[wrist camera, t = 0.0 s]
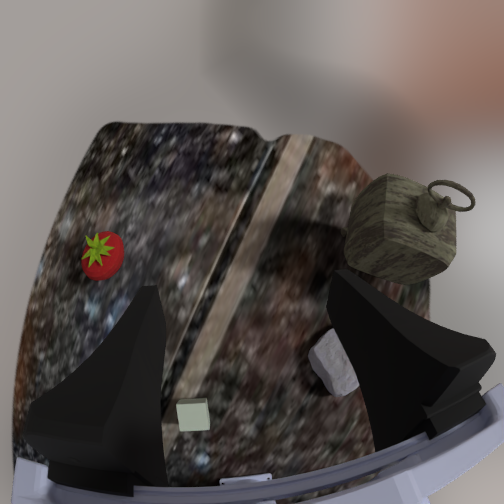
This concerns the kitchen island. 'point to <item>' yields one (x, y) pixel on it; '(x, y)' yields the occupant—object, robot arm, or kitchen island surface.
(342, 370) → the stone block
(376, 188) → the tabletop clock
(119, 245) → the strawberry
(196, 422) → the sage cube
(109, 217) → the kitchen island surface
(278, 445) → the kitchen island surface
